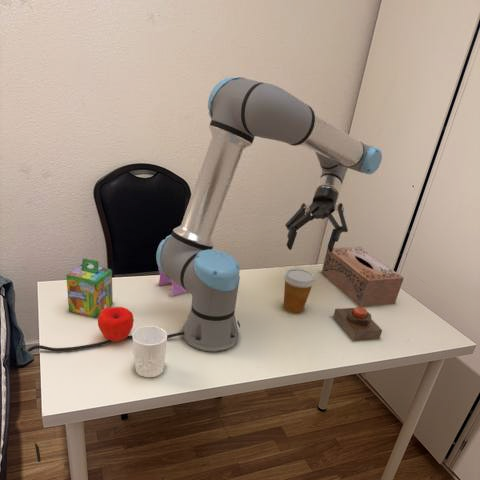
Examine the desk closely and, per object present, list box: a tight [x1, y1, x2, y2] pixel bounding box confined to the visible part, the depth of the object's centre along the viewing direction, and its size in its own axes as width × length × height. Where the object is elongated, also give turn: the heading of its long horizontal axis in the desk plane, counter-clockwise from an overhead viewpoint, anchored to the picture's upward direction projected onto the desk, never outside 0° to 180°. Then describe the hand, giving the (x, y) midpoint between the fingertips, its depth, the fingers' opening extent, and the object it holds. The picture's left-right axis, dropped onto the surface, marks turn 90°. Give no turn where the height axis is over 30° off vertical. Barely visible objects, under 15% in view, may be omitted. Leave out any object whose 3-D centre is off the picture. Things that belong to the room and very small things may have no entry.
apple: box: [97, 306, 135, 342], centre depth 113 cm, size 9×9×8 cm
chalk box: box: [65, 258, 114, 319], centre depth 122 cm, size 9×9×15 cm
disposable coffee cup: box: [283, 268, 316, 314], centre depth 136 cm, size 10×10×12 cm
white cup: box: [131, 325, 168, 378], centre depth 103 cm, size 8×8×10 cm
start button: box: [353, 306, 369, 318], centre depth 131 cm, size 4×4×2 cm
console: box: [332, 307, 383, 342], centre depth 132 cm, size 9×13×5 cm
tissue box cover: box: [321, 246, 405, 308], centre depth 155 cm, size 26×14×10 cm, turn 21°
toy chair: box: [157, 267, 189, 297], centre depth 137 cm, size 8×9×15 cm
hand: (308, 248), depth 135 cm, fingers open, 13 cm apart
